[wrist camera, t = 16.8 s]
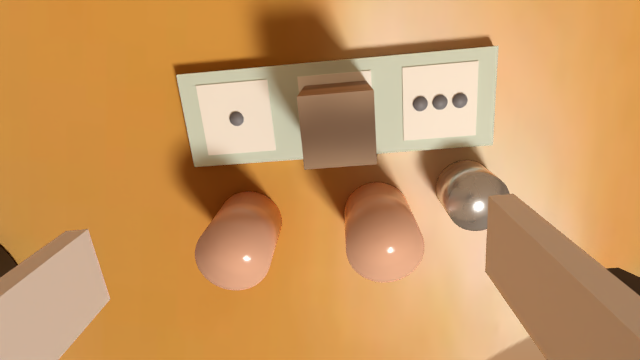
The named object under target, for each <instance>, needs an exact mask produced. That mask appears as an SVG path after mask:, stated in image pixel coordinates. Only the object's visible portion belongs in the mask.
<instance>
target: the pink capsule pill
mask: <svg viewBox="0 0 640 360" xmlns="http://www.w3.org/2000/svg"><path fill="white" fill-rule="evenodd" d="M344 216H345V236H346V253H347V258H348V261H349V263H350V265H351V266H352V268H353V269H354V270H355V271H356V272H357V273H358V274H359V275H361V276H362V277H364V278H366V279H369V280H371V281H376V282H392V281H397V280H400V279H402V278H404V277H406V276H408V275H409V274H410V273H412V272H413V271H414V270H415V269H416V268H417V266H418V265H419V264H420V262H421V260H422V257H423V254H424V240H423V236H422V234H421V232H420V229H419V227H418V225H417V223H416V220H415V218H414V216H413V214H412V212H411V209H410V207H409V205H408V203H407V201H406V198H405V197H404V195H403V194H402V193H401V192H400V191H399V190H398V189H397V188H395V187H394V186H392V185H389V184H386V183H381V182H374V183H369V184H365V185H363V186H361V187H359V188H358V189H356V190H355V191H354V192H353V193H352V194H351V195H350V196H349V198H348V200H347V202H346V205H345V210H344Z"/></svg>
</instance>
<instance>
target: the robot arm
mask: <svg viewBox="0 0 640 360" xmlns="http://www.w3.org/2000/svg"><path fill="white" fill-rule="evenodd" d="M485 272H486V273H487V275H488V276H489V277H490V279H491V280H492V282H493V283H494V285H495V286H496V288H497V289H498V290H499V292H500V293H501V295H502V296H503V298H504V299H505V301H506V302H507V304H508V305H509V306H510V308H511V309H512V311H513V312H514V314H515V315H516V317H517V318H518V319H519V321H520V322H521V324H522V325H523V327H524V328H525V330H526V331H527V332H528V334H529V335H530V337H531V338H532V340H533V341H534V343H535V344H536V345H537V347H538V348H539V350H540V351H541V352H542V354H543V355H544V357H545V358H546V360H640V277H638V276H635V275H633V274H631V273H629V272H627V271H624V270H622V269H620V268H609V269H606V268H605V267H603V266H602V265H601V264H600V263H598V262H597V261H596V260H595V259H593V258H592V257H591V256H590V255H588V254H587V253H586V252H585V251H583V250H582V249H581V248H580V247H579V246H577V245H576V244H575V243H574V242H572V241H571V240H570V239H569V238H567V237H566V236H565V235H564V234H562V233H561V232H560V231H559V230H557V229H556V228H555V227H554V226H552V225H551V224H550V223H549V222H548V221H546V220H545V219H544V218H543V217H541V216H540V215H539V214H538V213H536V212H535V211H534V210H533V209H531V208H530V207H529V206H528V205H526V204H525V203H524V202H523V201H522V200H520V199H519V198H518V197H517V196H515V195H514V194H505V195H493V196H488V220H487V244H486V268H485ZM109 300H110V297H109V294H108V290H107V287H106V284H105V281H104V278H103V275H102V272H101V269H100V265H99V262H98V259H97V256H96V253H95V250H94V247H93V244H92V240H91V237H90V234H89V231H88V229H85V230H73V231H65V232H64V233H62V234H61V235H60V236H58V237H57V238H55V239H54V240H53V241H51V242H50V243H48V244H47V245H46V246H44V247H43V248H41V249H40V250H38V251H37V252H36V253H34V254H33V255H31V256H30V257H29V258H27V259H26V260H24V261H23V262H22V263H20V264H19V265H16V263H15V262H14V261H13V259H12V258H11V257H10V256H9V255H8V253H7V252H6V251H5V250H4V249H3V248H2V247H0V360H59V358H60V357H61V356H62V355H63V354H64V353H65V351H66V350H67V349H68V348H69V347H70V346H71V344H72V343H73V342H74V341H75V340H76V339H77V337H78V336H79V335H80V334H81V333H82V332H83V330H84V329H85V328H86V327H87V326H88V325H89V323H90V322H91V321H92V320H93V319H94V318H95V316H96V315H97V314H98V313H99V312H100V311H101V309H102V308H103V307H104V306H105V305H106V304H107V302H108V301H109Z"/></svg>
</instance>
